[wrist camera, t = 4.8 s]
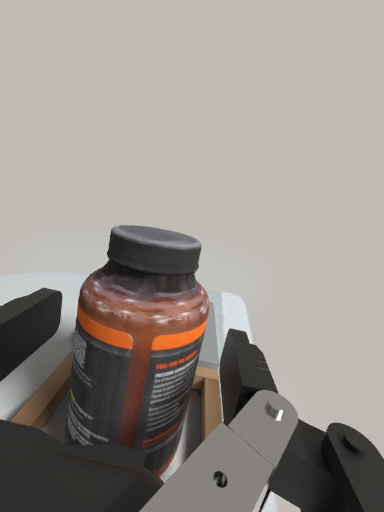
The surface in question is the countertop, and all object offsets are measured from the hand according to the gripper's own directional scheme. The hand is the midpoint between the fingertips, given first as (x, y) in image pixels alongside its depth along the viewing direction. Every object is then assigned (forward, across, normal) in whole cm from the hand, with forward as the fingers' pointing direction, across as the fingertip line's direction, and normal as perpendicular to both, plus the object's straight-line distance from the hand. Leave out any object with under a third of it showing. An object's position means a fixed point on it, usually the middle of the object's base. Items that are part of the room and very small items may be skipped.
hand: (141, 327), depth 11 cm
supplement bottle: (0, 0, +7) cm, 7 cm away
